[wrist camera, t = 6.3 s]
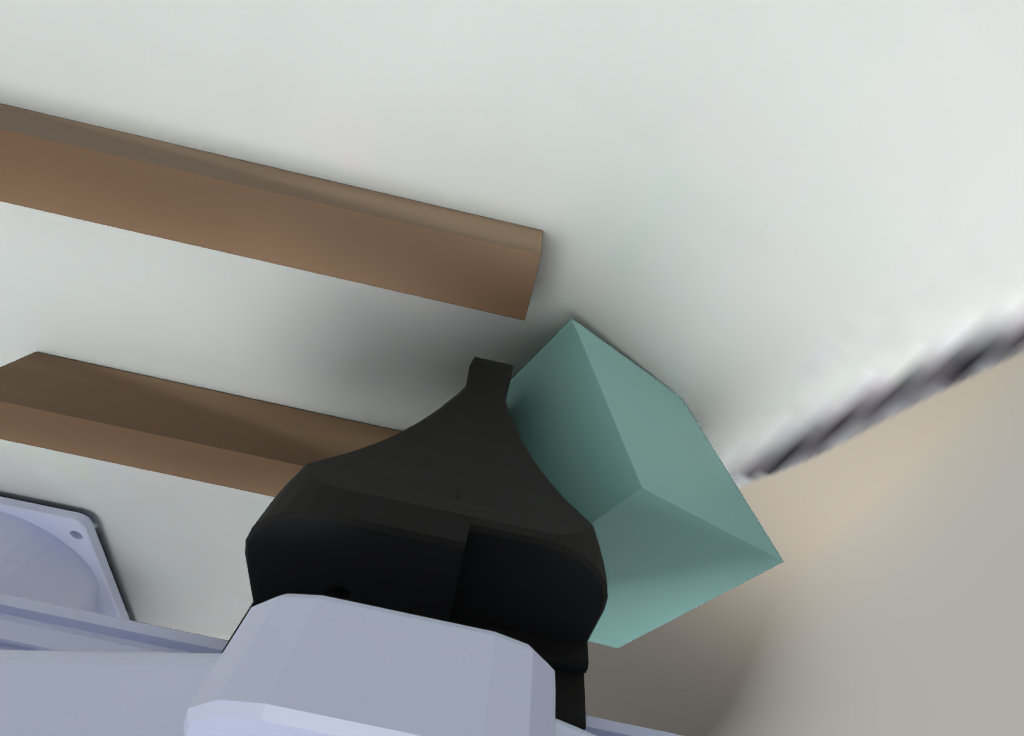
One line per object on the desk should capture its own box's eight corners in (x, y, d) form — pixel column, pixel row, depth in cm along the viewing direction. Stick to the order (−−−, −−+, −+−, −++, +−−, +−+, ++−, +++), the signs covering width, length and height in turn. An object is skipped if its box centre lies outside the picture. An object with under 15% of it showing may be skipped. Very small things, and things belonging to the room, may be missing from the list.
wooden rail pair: (482, 483, 16) (471, 538, 14) (50, 390, 16) (-31, 432, 14) (543, 230, 12) (540, 254, 10) (-63, 88, 11) (-211, 80, 9)
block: (573, 481, 16) (617, 648, 12) (462, 428, 14) (467, 611, 10) (681, 397, 14) (784, 561, 10) (572, 318, 12) (642, 487, 7)
